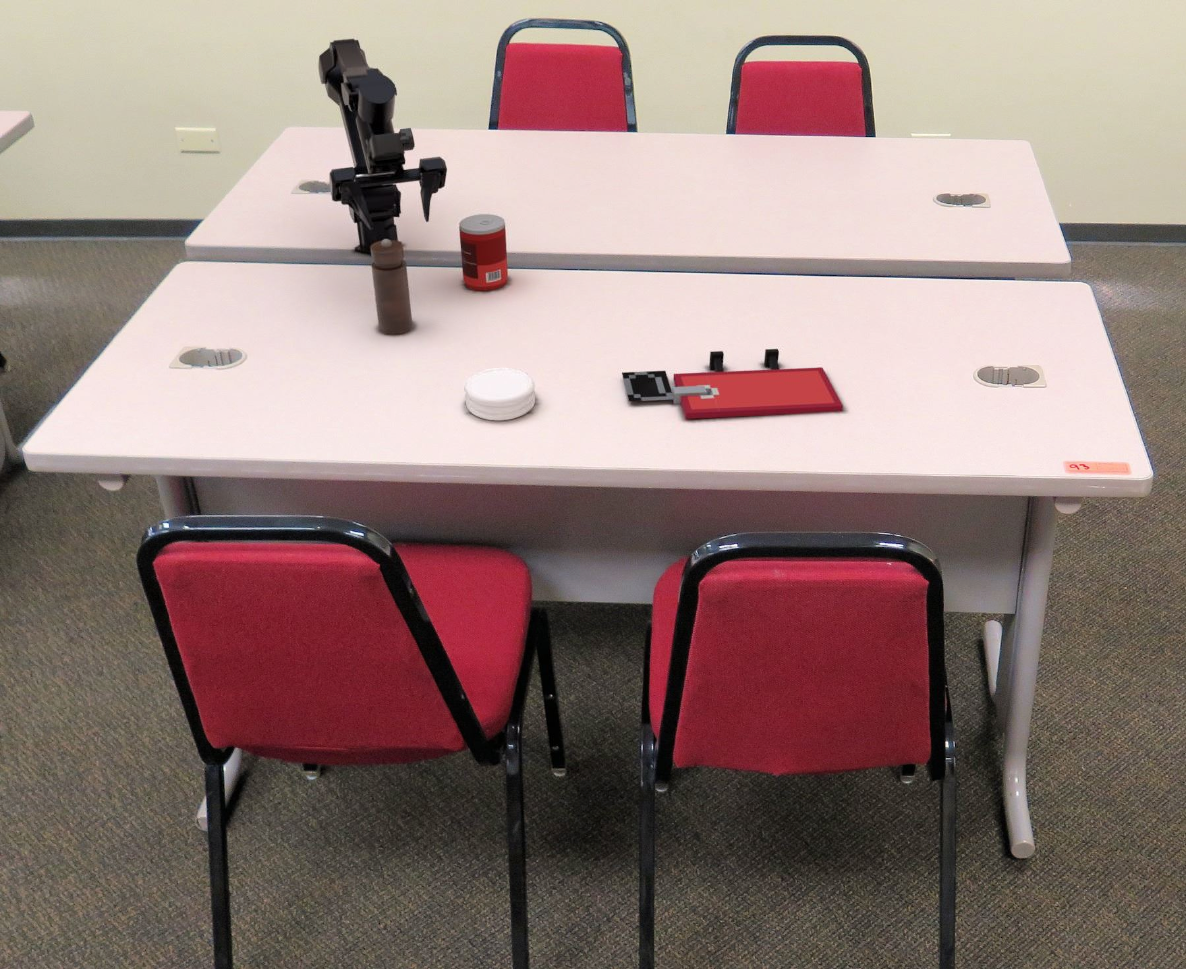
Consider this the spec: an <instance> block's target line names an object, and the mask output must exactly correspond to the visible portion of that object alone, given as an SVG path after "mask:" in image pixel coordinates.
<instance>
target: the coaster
mask: <svg viewBox="0 0 1186 969" xmlns="http://www.w3.org/2000/svg"><path fill="white" fill-rule="evenodd" d="M464 392H465V393H464V398H465V406H466V408H467V410H468V411H469V412H470V413H471V414H473V415H474V416H476V417H478V418H480V419H483V420H488V421H507V420H513V419H516V418H519V417H522V416H524V415H525V414H527V413H529V412H530V411H531V410H532V409H533V408H534V405H535V403H536V396H535V395H536V391H535V381H534V379H533V378H532V376H530V375H529V374H528V373H526V372H524V371H521V370H519V369H516V368H510V367H494V368H493V367H492V368H488V369H483V370H480V371H478V372H476V373H474V374H473V375H472V376H470V377H469V378H468V379H467V380H466V382H465V384H464Z"/></svg>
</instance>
